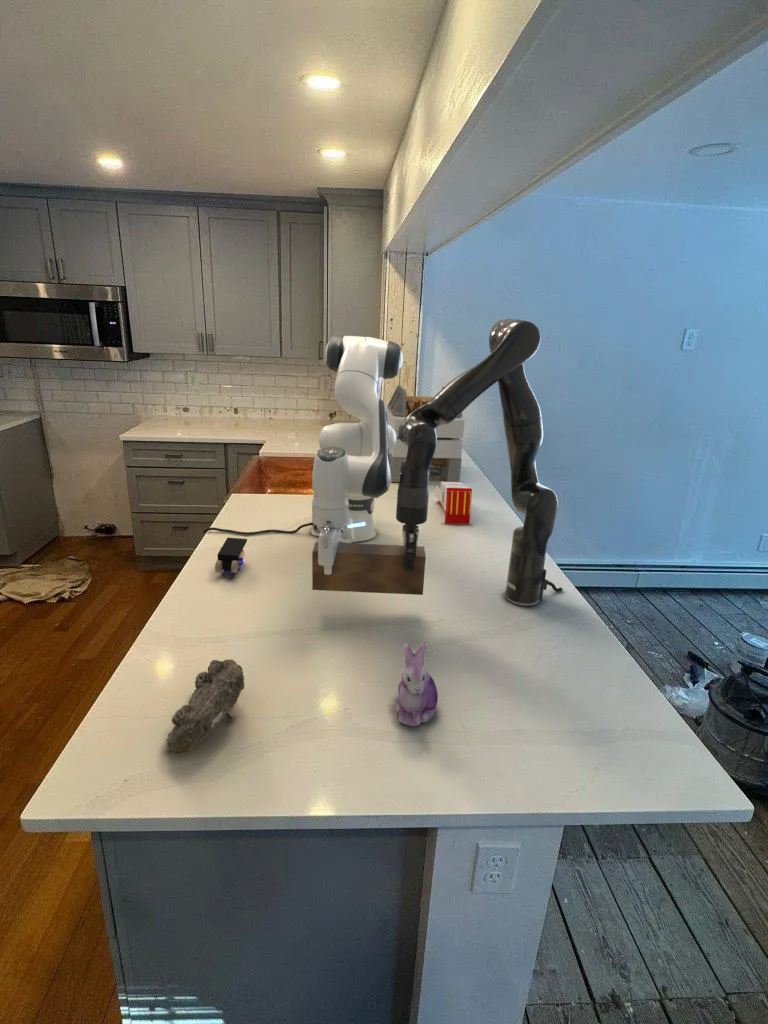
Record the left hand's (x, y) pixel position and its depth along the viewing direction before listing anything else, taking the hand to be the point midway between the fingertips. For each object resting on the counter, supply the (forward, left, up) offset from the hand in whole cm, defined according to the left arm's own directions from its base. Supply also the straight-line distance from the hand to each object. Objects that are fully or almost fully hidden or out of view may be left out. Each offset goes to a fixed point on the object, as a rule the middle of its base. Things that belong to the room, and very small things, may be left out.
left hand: (329, 566), depth 142 cm
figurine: (+30, -30, -13) cm, 45 cm away
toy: (+17, +90, -13) cm, 92 cm away
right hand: (+19, +5, +2) cm, 20 cm away
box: (+10, +2, -5) cm, 11 cm away
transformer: (-7, +139, -13) cm, 140 cm away
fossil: (-7, -44, -13) cm, 47 cm away
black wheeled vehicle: (-36, +13, -13) cm, 40 cm away
